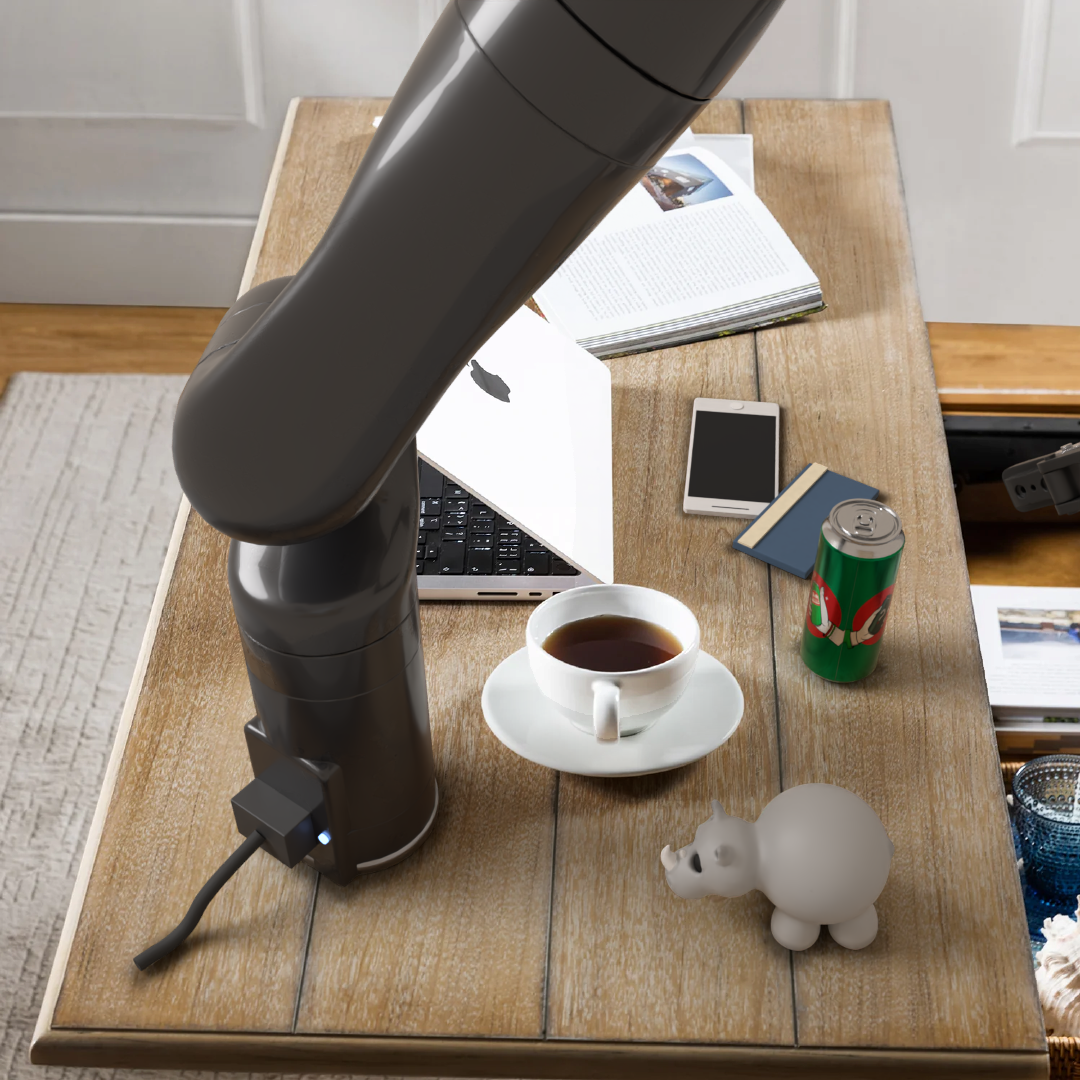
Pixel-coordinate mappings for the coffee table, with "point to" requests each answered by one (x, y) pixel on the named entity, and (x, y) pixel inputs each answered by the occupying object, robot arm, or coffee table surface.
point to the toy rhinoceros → (794, 863)
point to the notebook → (799, 519)
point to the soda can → (851, 589)
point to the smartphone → (732, 458)
